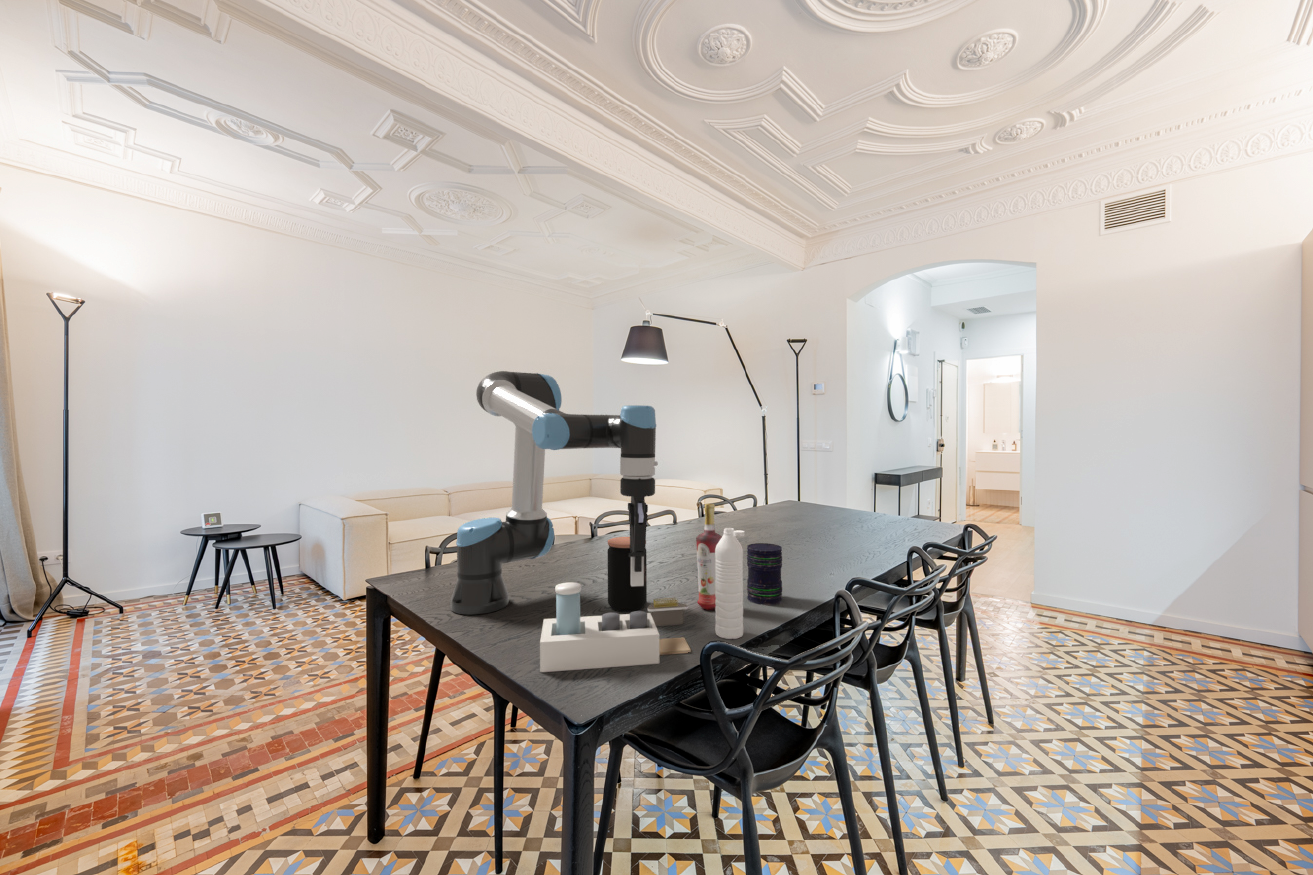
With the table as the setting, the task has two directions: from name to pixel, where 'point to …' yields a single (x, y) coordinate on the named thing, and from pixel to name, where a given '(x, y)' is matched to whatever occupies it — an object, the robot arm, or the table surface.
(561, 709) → the table surface
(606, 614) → the button
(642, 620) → the button
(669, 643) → the coaster
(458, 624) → the table surface
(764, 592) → the storage jar
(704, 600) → the liquor
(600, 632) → the housing
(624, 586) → the coffee jar
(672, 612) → the platform
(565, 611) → the cartridge
